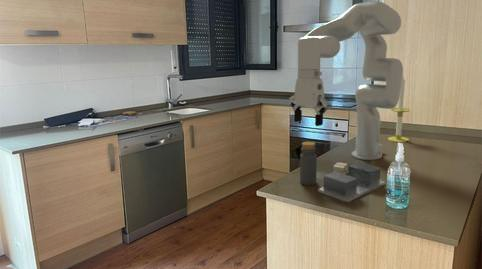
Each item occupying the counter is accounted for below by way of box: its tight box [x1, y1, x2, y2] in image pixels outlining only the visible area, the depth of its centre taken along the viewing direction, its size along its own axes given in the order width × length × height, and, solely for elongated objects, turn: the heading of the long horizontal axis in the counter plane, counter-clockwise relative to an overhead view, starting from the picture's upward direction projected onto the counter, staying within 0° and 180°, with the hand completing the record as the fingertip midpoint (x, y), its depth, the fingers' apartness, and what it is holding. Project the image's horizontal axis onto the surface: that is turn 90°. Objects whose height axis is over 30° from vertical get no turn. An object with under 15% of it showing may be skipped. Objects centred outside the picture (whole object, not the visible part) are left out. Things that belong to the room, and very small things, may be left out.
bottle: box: [299, 141, 318, 186], centre depth 135 cm, size 6×6×15 cm
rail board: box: [317, 161, 386, 203], centre depth 129 cm, size 22×12×6 cm, turn 129°
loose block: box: [332, 162, 348, 175], centre depth 143 cm, size 5×4×4 cm
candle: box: [387, 75, 411, 143], centre depth 183 cm, size 10×10×32 cm
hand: (308, 123), depth 131 cm, fingers open, 9 cm apart
